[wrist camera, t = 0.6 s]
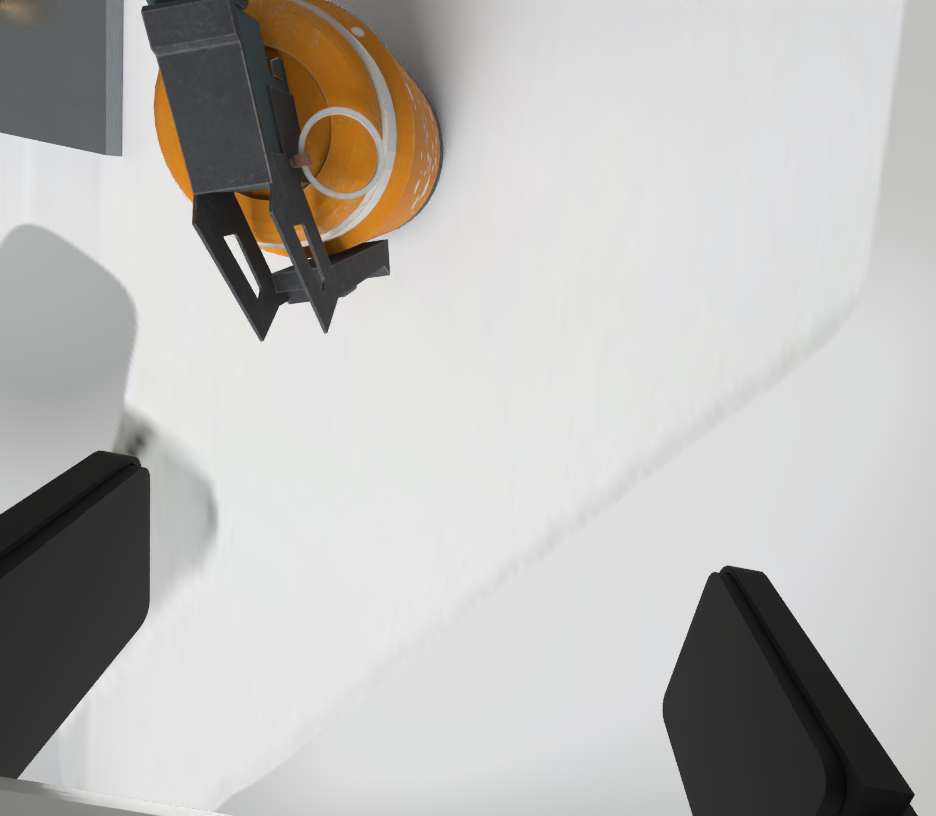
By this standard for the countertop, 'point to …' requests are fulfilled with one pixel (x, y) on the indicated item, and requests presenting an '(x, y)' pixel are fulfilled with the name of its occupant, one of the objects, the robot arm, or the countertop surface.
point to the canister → (290, 143)
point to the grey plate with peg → (63, 72)
